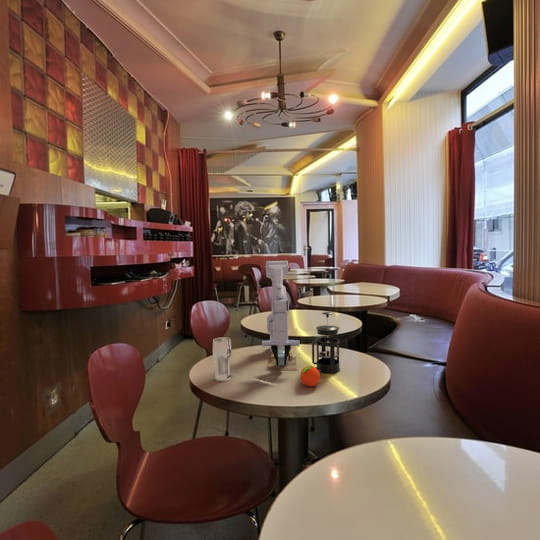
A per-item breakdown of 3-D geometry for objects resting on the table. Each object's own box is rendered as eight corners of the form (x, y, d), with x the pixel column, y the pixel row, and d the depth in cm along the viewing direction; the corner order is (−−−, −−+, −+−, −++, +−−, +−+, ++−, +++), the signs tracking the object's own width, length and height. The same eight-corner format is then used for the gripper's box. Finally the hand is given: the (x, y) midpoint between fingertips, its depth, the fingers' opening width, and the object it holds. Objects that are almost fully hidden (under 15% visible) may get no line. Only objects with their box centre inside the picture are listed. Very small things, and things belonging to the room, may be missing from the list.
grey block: (274, 370, 141) (274, 357, 141) (275, 363, 151) (275, 350, 151) (288, 370, 141) (287, 356, 141) (288, 362, 151) (287, 350, 151)
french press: (335, 364, 150) (335, 309, 148) (345, 372, 141) (345, 313, 139) (308, 367, 147) (307, 311, 146) (317, 375, 138) (316, 315, 137)
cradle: (268, 358, 160) (268, 352, 160) (295, 358, 159) (295, 352, 159) (266, 372, 142) (266, 365, 142) (296, 372, 141) (296, 365, 141)
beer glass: (231, 381, 133) (229, 341, 132) (212, 382, 133) (210, 341, 132) (233, 375, 140) (232, 336, 139) (215, 375, 140) (214, 337, 139)
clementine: (310, 392, 122) (309, 371, 122) (294, 387, 127) (294, 367, 126) (324, 385, 128) (323, 365, 127) (308, 380, 133) (308, 361, 132)
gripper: (261, 332, 137) (262, 367, 138) (299, 332, 136) (300, 367, 137) (262, 328, 144) (263, 362, 145) (299, 328, 143) (299, 361, 144)
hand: (281, 364), depth 141 cm, fingers closed on grey block, 2 cm apart
